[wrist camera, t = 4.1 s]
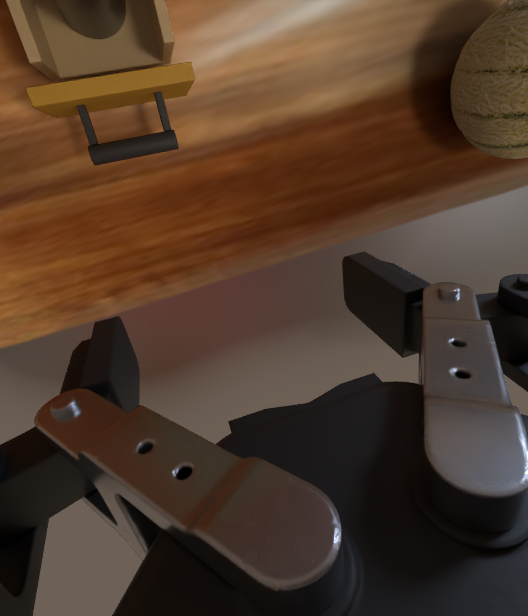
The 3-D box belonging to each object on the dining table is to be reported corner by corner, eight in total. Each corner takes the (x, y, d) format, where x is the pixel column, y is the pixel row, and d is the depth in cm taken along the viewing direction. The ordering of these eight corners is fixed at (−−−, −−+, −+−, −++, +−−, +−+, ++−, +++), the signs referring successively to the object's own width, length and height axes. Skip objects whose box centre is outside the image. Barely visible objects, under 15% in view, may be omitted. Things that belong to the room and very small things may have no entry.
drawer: (198, 145, 36) (209, 142, 30) (76, 169, 34) (58, 172, 28) (131, -137, 28) (125, -229, 21) (-35, -127, 26) (-98, -226, 19)
